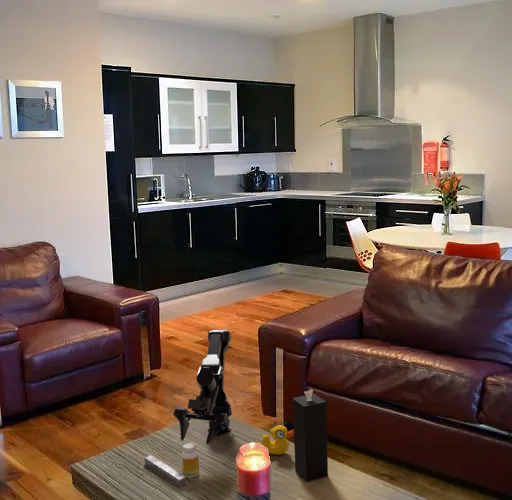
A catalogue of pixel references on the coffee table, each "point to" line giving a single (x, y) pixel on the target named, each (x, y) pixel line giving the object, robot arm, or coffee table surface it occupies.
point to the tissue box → (310, 436)
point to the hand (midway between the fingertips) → (194, 442)
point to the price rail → (165, 471)
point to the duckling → (278, 440)
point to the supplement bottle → (190, 460)
